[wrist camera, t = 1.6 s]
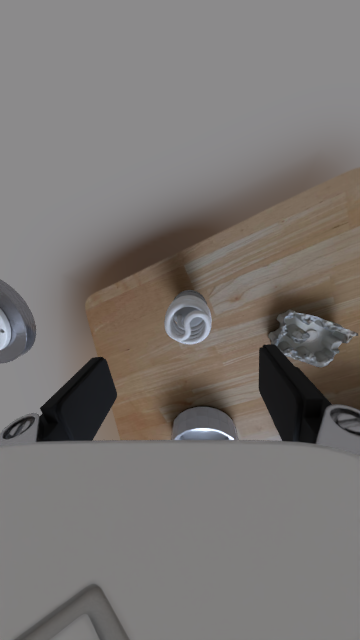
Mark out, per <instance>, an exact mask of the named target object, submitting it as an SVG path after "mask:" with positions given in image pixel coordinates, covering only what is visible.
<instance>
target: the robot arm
mask: <svg viewBox="0 0 360 640" xmlns="http://www.w3.org/2000/svg"><path fill="white" fill-rule="evenodd" d="M10 339H11V327H10V323H9V321H8V319H7V317H6V315H5V314H4V312H3V311H2V309H1V308H0V350H2V349H4V348H5V347H6V346H7V345H8V344H9V342H10ZM259 391H260V394H261V396H262V398H263V400H264V402H265V404H266V407H267V409H268V411H269V413H270V415H271V417H272V419H273V422H274V424H275V426H276V428H277V430H278V432H279V435H280V437H281V439H282V441H264V440H106V441H92V440H93V438H94V436H95V435H96V433H97V431H98V429H99V428H100V426H101V424H102V422H103V421H104V419H105V417H106V415H107V413H108V412H109V410H110V408H111V407H112V405H113V403H114V401H115V400H116V397H117V392H116V389H115V386H114V383H113V379H112V376H111V373H110V370H109V367H108V364H107V361H106V359H104V358H103V357H95V358H92V359H91V360H90V361H89V362H88V363H87V364H85V365H84V366H83V367H82V368H81V369H80V370H79V371H78V372H77V373H76V374H75V375H74V376H73V377H72V378H71V379H70V380H69V381H68V382H67V383H66V384H65V385H64V386H63V387H62V388H60V389H59V390H58V391H57V392H56V393H55V394H54V395H53V396H52V397H51V398H50V399H49V400H48V401H47V402H46V403H45V404H44V405H43V406H42V407H41V408H40V409H41V411H42V413H43V414H42V415H41V416H39V415H38V414H36V413H32V414H28V415H25V416H22V417H20V418H19V419H17V420H15V421H13V422H12V423H10V424H9V425H8V426H7V427H5V428H4V430H3V431H2V432H1V433H0V640H360V410H358V409H355V408H353V407H350V406H346V405H339V404H336V405H332V404H331V403H330V402H329V401H328V400H327V399H326V397H325V396H324V395H323V394H322V393H321V392H320V391H319V390H318V389H317V388H316V387H315V385H314V384H313V383H312V382H311V381H310V380H309V379H308V378H307V377H306V376H305V375H304V373H303V372H302V371H301V370H300V369H299V368H298V367H295V366H294V365H293V364H292V363H291V362H290V361H289V360H288V358H287V357H286V356H285V355H284V354H283V353H282V352H281V351H280V350H279V348H278V347H277V346H276V345H275V344H271V345H263V348H260V350H259Z"/></svg>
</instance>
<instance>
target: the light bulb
mask: <svg viewBox="0 0 360 640" xmlns="http://www.w3.org/2000/svg"><path fill="white" fill-rule="evenodd" d="M175 321H176V322H177V324H176V323H175ZM210 329H211V313H210V310H209V308H208V306H207V303H206V301H205V299H204V297H203V296H202V295H201V294H200V293H198V292H197V291H194V290H186V291H183V292H181V293H179V294H178V295H177V296H176V297H175V298H174V300H173V302H172V303H171V304H170V306H169V308H168V310H167V312H166V316H165V330H166V332H167V334H168V335H169V336H170V337H171V338H172V339H174V340H176V341H178V342H180V343H183V344H196V343H199V342H201V341H202V340H204V339H205V338H206V337H207V336H208V334H209V332H210Z"/></svg>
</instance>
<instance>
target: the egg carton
mask: <svg viewBox="0 0 360 640" xmlns="http://www.w3.org/2000/svg"><path fill="white" fill-rule="evenodd" d="M277 320H278V321H279V322H280V327H279V329H277V330H276V331H274V332H270V334H269V335H268V337H269V338H270V339H271V340H272V342H271V344H275V345H276V346H277V347H278V348H279V350H280V351H281V352H282V353H283V354H284V355H286V356H287V357H288V356H289V357H291V358H293V359H296V360H299V361H302V362H306V363H308V364H311V365H314V366H316V367H324V366H327V365H328V364H329V363H330V362H331V361H332V360H334V359H333V357H334V356H335V354H336V353H339V349H338V347H339V346H340V344H341V342H342V343H348V342H349V341H350V340H351V339H352V337H353V336H354V335H356V336H358V333H356V332H353V331H350V330H348V329H345V328H343V327H342V326H341V325H339V324H337V323H334V322H331V321H326V320H324V319H321V318H319V317H316V316H313V315H308V314H303V313H297V312H295V311H293V310H288V311H287V312H286V313H283V314H279V315H278V317H277Z"/></svg>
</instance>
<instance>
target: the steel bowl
mask: <svg viewBox="0 0 360 640" xmlns="http://www.w3.org/2000/svg"><path fill="white" fill-rule="evenodd" d="M171 440H239V439H238V435H237V431H236V427H235V425H234V423H233V420H232V419H231V418H230V417H229V416H228V415H227V414H225V413H224V412H222V411H220V410H218V409H214V408H210V407H195V408H191V409H187V410H185V411H184V412H182V413H180V414H179V415H178V416H177V418H176V419H175V420H174V423H173V427H172V434H171Z"/></svg>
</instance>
